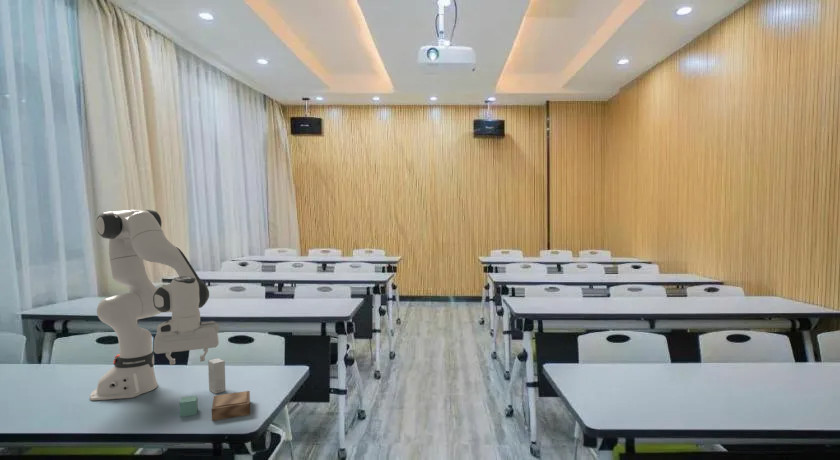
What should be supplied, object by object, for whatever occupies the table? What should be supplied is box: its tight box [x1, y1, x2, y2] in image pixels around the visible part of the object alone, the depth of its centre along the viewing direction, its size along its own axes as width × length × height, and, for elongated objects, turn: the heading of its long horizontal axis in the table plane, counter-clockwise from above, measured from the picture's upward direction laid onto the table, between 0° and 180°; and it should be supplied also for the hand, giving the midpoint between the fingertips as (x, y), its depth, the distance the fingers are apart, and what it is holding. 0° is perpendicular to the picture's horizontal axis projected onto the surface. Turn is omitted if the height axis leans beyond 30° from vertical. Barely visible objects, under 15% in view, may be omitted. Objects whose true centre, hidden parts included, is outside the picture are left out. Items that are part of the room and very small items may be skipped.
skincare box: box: [207, 357, 226, 395], centre depth 179 cm, size 6×4×12 cm
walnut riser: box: [211, 390, 251, 422], centre depth 161 cm, size 12×12×4 cm
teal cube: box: [179, 395, 199, 418], centre depth 159 cm, size 5×5×5 cm
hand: (187, 362), depth 159 cm, fingers open, 8 cm apart
